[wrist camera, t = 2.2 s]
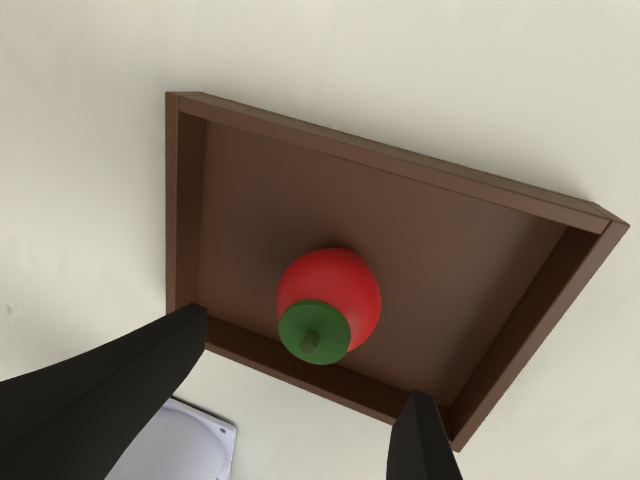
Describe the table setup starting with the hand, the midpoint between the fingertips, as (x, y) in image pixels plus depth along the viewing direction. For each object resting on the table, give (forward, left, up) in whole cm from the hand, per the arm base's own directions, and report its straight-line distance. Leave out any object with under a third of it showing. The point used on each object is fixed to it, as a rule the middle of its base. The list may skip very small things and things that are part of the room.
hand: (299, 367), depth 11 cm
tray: (0, 0, -7) cm, 7 cm away
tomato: (0, 0, -6) cm, 6 cm away
